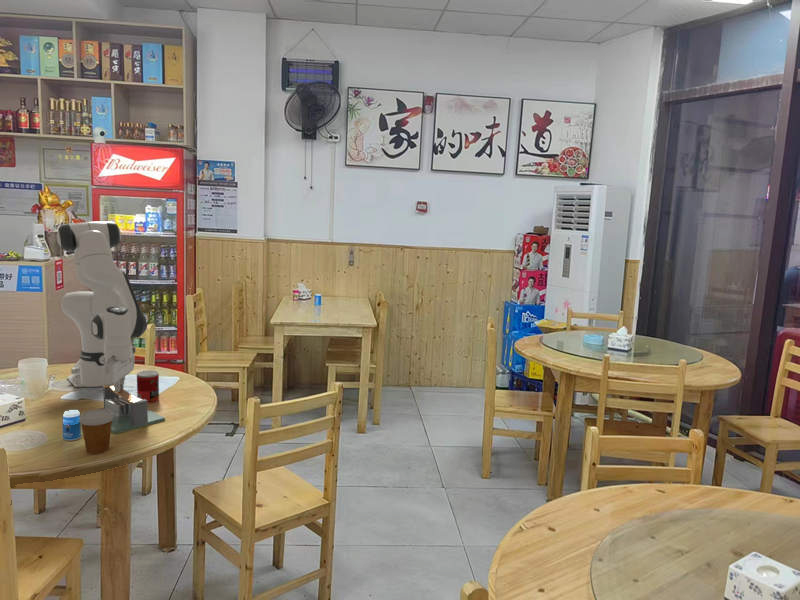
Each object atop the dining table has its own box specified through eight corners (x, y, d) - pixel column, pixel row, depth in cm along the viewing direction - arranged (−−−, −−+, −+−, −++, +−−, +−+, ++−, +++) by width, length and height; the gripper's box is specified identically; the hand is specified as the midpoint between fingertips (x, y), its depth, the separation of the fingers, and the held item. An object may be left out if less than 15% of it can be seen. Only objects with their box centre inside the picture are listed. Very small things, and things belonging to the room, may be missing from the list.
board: (82, 415, 212) (81, 387, 211) (130, 404, 226) (130, 377, 225) (115, 433, 198) (114, 403, 196) (165, 420, 212) (164, 391, 210)
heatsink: (104, 416, 210) (103, 399, 210) (131, 409, 218) (131, 393, 217) (118, 423, 204) (117, 406, 204) (145, 416, 212) (145, 400, 211)
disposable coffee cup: (111, 455, 181) (110, 418, 180) (77, 457, 179) (75, 420, 177) (117, 443, 190) (116, 407, 189) (84, 445, 188) (82, 409, 186)
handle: (109, 390, 214) (109, 386, 213) (117, 389, 216) (117, 385, 216) (132, 408, 204) (133, 403, 204) (141, 406, 206) (141, 401, 206)
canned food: (154, 403, 228) (153, 376, 226) (133, 402, 228) (132, 375, 226) (162, 397, 236) (162, 371, 234) (142, 396, 236) (142, 369, 234)
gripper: (116, 360, 200) (117, 399, 202) (137, 346, 220) (138, 382, 222) (96, 360, 199) (97, 399, 201) (119, 345, 219) (120, 381, 221)
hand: (119, 390), depth 212 cm, fingers closed
